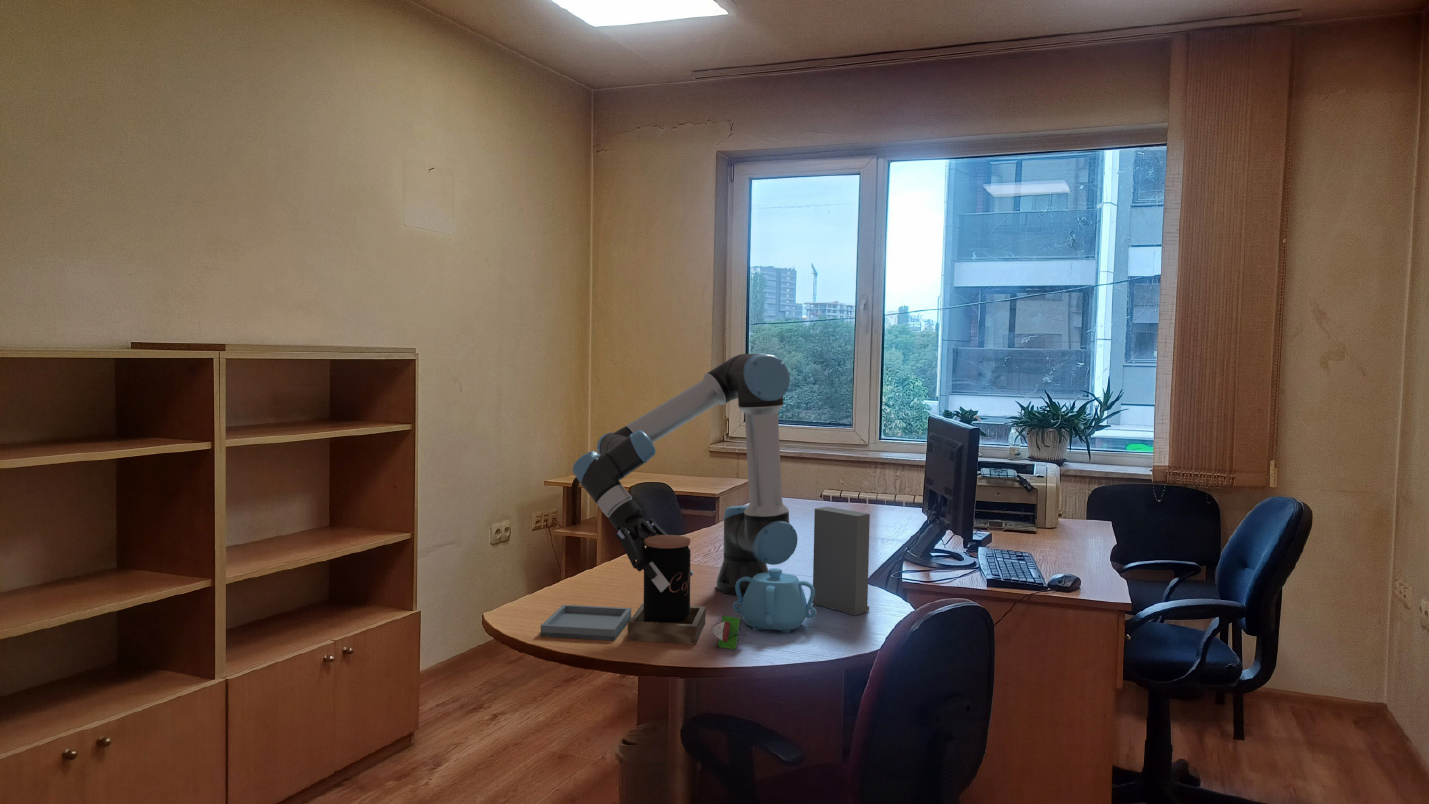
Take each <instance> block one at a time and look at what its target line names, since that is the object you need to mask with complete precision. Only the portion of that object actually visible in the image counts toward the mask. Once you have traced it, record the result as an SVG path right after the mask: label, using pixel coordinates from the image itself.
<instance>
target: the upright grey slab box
mask: <svg viewBox="0 0 1429 804" xmlns="http://www.w3.org/2000/svg"><path fill="white" fill-rule="evenodd" d="M870 517H871V514H870V513H867V512H862V511H855V510H849V509H845V508H844V509H842V508H838V507H837V508H836V507H831V506H823V507H816V508H814V524H813V559H812V560H813V563H812V564H813V566H812V585H813V586H814V588H815V596H814V599H813V602H812V604H811V605H813V606H819V607H824V608H827V609H830V610H831V609H832V610H835V611H839V612H842V613H845V614H849V615H851V616H857V615H860V614H863V613H867V612H869V611H870V605H868V597H869V595H868V593H869V591H868V590H869V558H870V557H869V556H870V554H869V553H870V552H869V550H870V525H871V523H870V522H871V521H870V519H871V518H870Z"/></svg>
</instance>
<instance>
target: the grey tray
mask: <svg viewBox="0 0 1429 804" xmlns="http://www.w3.org/2000/svg"><path fill="white" fill-rule="evenodd" d="M631 618H632V607H619V606H618V607H614V606H601V605H600V606H599V605H598V606H597V605H577V604H562V605H561V606H559V608H558V609H556V611H554V613H552V614H551V615H550V616H549V617H548V618H547V619H546V620H545V621H544V622H543V623H542V624H540V637H542V636H548V637H547V638H564V639H577V640H578V639H579V640H581V639H582V640H593V641H594V640H597V641H598V640H599V641H612V642H613V641H614V642H615V641H616V640H617V638H618V637H619V636H620V635H621V633H622V632H623V630H624V629H625V628H626V626H628V622H629V621H630V619H631Z"/></svg>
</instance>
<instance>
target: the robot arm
mask: <svg viewBox="0 0 1429 804" xmlns="http://www.w3.org/2000/svg"><path fill="white" fill-rule="evenodd" d="M702 378H703V379H702V380H700V381H698V382H697V383H695V384H693V385H692V386H690V387H688V388H686V389H685V390H683V391H682V392H680V393H678V394H677V395H675V396H673V397H671V398H670V399H668V400H667V401H665V402H663V403H662V404H660V405H658V406H656V407H654V408H653V409H652V410H650V411H648V412H646V413H645V414H643V415H642V416H639V417H638V418H636V419H634V420H633V421H632V422H629V423H628V424H626V425H625V426H623V427H621V428H619V429H618V430H616V431H614V432H607V433H604V434H603V435H602V436H600V438H599V439H598V441H597V444H596V450H597V451H595V450H593V451H589V452H587V453H584V454H583V455H581V456H580V457H579V458H578V459H577V460H576V461H575V463H574V464H573V466H572V473H573V474H574V476H575V478H576V479H577V480H578V482H579V483H580V485H581V487H583V488H584V491H586V493H588V495H589V496H590V497H591V499H592V500H593V502H595V504H596V505H597V506H598V508H599V509H600V510H601V512H602V513H603V514H604V516H605V517H606V518H608V521H609V522H610V524H611V525H612V526H613V528H614V529H615V530H616V531H617V533H615V536H616V538H617V539H618V540H619V542H620V544H621V545H622V547H623V550H624V551H625V554H626V556H627V558H628V559H629V561H630V564H631V566H632V567H633V569H634V570H635V569H636V570H637V572H642V570H643V573H644V572H645V573H646V574H647V575H648V577H649V578H650V579H651V580H652V582H653V583H654V584H655V585H656V587H657V588H658V589H659V591H660V592H663V591H664V590H665V589H666V588H667V587H668V586H669V585H670V584H669V582H668V581H667V580H666V578H665V577H664V576H663V575H662V573H661V572H660V571H659V569H658V568H657V567H656V565H655V564H654V563H653V562H650V563H649V559H648V556H647V552H646V549H645V548H646V545H645V544H644V539H645V538H647V537H651V536H657V535H669V534H668V533H667V532H666V531H665V530H663V528H661V527H660V526H659V525H658V523H657V522H656V521H655V519H653V518H652V517H651V518H649V520H647V521H646V520H645V519H644V518H643V517H642V514H643V509H642V508H641V507H640V506H639V504H638V503H637V502H636V500H633V496H632V495H631V494H630V493H629V492H628V490H627V489H626V488H625V487H624V486H623V484H622V482H620V481H621V480H623V479H624V478H625V477H627V476H628V475H630V474H631V473H632V472H635V470H637V469H638V468H640V467H641V466H643V465H644V464H646V463H648V461H650V460H651V459H652V458H653V457H655V455H656V451H657V449H656V447H655V445H654V443H656V442H657V441H659V440H660V439H662V438H664V437H665V436H667V435H669V434H670V433H672V432H673V431H675V430H678V428H681V427H682V426H684V425H685V424H687V423H689V422H690V421H693V420H694V419H695V418H697V417H699V416H701V415H702V414H704V413H705V412H707V411H709V410H710V409H712V408H714V407H716V406H717V405H721V406H723V405H726V404H728V403H729V402H731V401H733V400H737V402H738V403H737V404H738V405H737V406H738V408H739V410H740V411H742V412H743V414H744V424H745V441H746V442H745V444H746V461H747V463H746V464H747V479H748V480H747V482H748V499H749V503H748V505H731V506H728V507H726V508H725V510H724V515H723V561H722V564H721V567H720V569H719V572H718V573H719V574H718V575H717V579H716V589H717V591H719V592H722V593H725V594H729V595H734V596H735V595H736V596H737V594H736V590H735V585H736V582H737V581H738V580H739V579H740V578H742V577H750V578H753V577H754V576H755V575H756V574H758V573H769V571H768V570H769V569H768V565H771V566H775V565H780V564H784V563H785V562H786V561H788V560H790V558H791V556H792V555H794V553H795V551H796V549H797V545H798V533H797V530H796V529H795V527H794V526H793V525H792V524H791V523H790V512H789V511H790V510H789V508H788V507H787V506H786V505H785V504H784V503H783V489H782V488H783V487H782V469H781V448H780V447H781V446H780V430H779V411H780V410H781V409H782V407H783V406H784V395H785V394H786V392H787V391H788V389H789V388H790V382H791V377H790V372H789V370H788V367H787V365H786V364H785V363H784V361H783V360H782V359H780V358H779V357H777V356H776V355H773V354H768V353H765V352H764V353H762V352H760V353H740V354H737V355H735V356H732V357H730V358H729V359H727V360H726V361H724V362H722V363H720V364H719V365H718V366H716V367H715V368H713V369H711V370H710V371H708V372H706V373H705V374H704V375H703V377H702ZM694 574H695V572H694V571H693V569H691V567H690V578H691V577H692V576H693V575H694ZM749 584H750V582H748V581H743V582H741V583H740V591H741V594H742V596H744V595H745V592H746V590H747V588H748V586H749Z"/></svg>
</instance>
